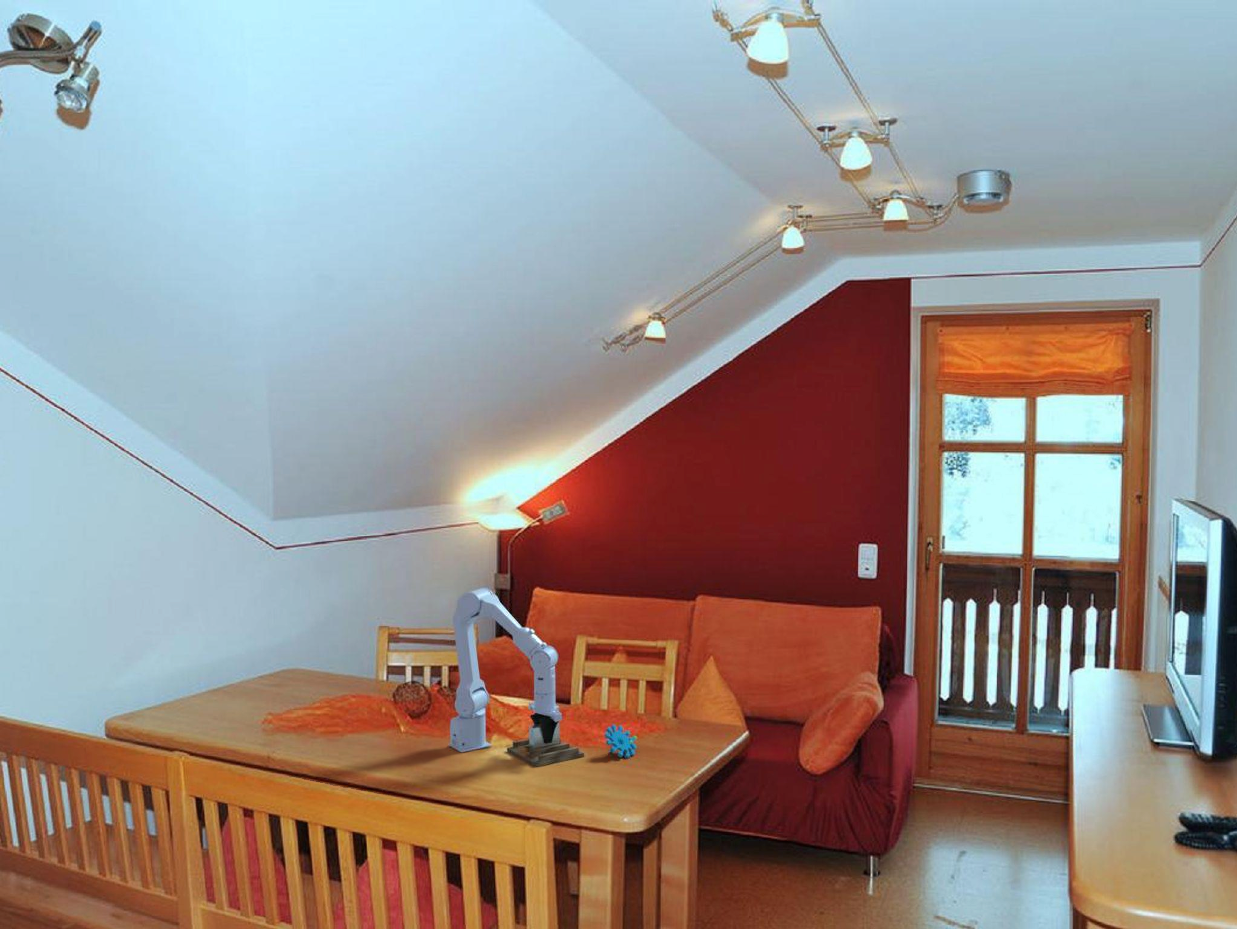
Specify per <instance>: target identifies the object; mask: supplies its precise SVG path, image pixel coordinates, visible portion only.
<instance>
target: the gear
mask: <svg viewBox="0 0 1237 929" xmlns="http://www.w3.org/2000/svg"><path fill="white" fill-rule="evenodd" d="M616 729H617V730H616ZM622 731H624V727H623V726H622V725H619V726H618V728H617V725H616V724H612V725H611V726H608V727H607V728H606V729H605V733H604V735H603V736H604V738H605V739H606V741H605V744H606V746H611V748H610V749H609V752H610V753H612V754H613V753H615V752H616V751H617V750H618V752H617V756H618V757H620V758H622V757H623V756H624V757H625V758H627V759H629V758H630V757H631V756H633V755H635V754H636V751H635V750H637V748H638V746H637V744H634V743H635V741H636V740H637V739H638V737H637V736H636V735H633V736H632V737H629V736H630V735H631V732H630V731H629V730H626V731H625V732H622ZM624 752H625V754H624Z"/></svg>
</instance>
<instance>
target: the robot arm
mask: <svg viewBox="0 0 1237 929" xmlns="http://www.w3.org/2000/svg"><path fill="white" fill-rule="evenodd" d="M456 605H457V606H456V609H455V612H454V613H453V617H452V625H453V634H454V641H455V650H456V655H457V656H456V658H457V665H458V672H459V673H458V674H459V684H458V686H457V688H456V690H455V691H456V698H455V701H454V708H455V711H456V713H457V714H458V715H457V716H456V717H455V716H454V717H452V718H451V720H450V722H449V723H450V724H449V734H450V736H449V737H450V738H449V740H450V741H449V742H450V743H449V744H448V745H449V747H451V748H453V749H455V750H457V751H458V752H460V753H464V752H469V751H475V750H480V749H485V748H490V747H492V744H491V743H489V742H487V741H486V738H487V737H486V735H487V734H486V707H487V706H489V702H490V694H489V693H488V691H487V689H486V685H485V682H484V680H482V679H481V677H480V671H479V668H480V667H479V661H478V653H477V647H476V646H477V644H476V636H475V630H474V628H475V627H474V623H475V621H476V620H477V619H478V618H479V617H487V618H489V617H490V618H492V619H493V620H495V621H496V622H497V623H498V624H499V626H501V627H502V628H503V629H505V630H506V631H507V632H508V634H510V635H511V636H512V642H513V644H514V645H515V646H516V647H517V648H518V649H519V651H521V652H522V653H523V654H524V655H525V656H526V657H527V658H528V659H529V664H530V666H531V668H532V669H533V675H534V676H533V678H534V679H533V685H534V686H533V689H534V693H533V694H534V695H533V697H534V698H533V700H534V701H532V702H529V703H528V710H529V711H533V712H534V714H531V715H530V719H531V721H532V723H533V725H538V724H541V727H542V732H543V740H544V743H545V744H547V743H552V740H553V735H554V731H555V728H556V726H557V724H558V723H559V722H562V720H563V717H562V716H563V715H562V712H560V711H559V709H560V706H558V704H557V705H556V666H555V665H556V664H557V663H558V660H559V653H558V652H557V650H556V648H555V647H553V646H551V645H547V643H546V642H543V641H542V639H540V638H539V637H538V636H537V635H536V634H535V633H536V631H535V630H534V629H533V628H531V629H530V628H529V627H522V626H521V624H520V623H519V622H518V621H517V620H516V618H514V617H513V615H512V614H511V613H510V612H509V611H508V610H507V608H506V607H505V606H504V605H503V604H502V603H501V602H500V600H499V597H498V596H497V595H496V594H494V593H493V592H492V590H491V589H489V588H487V587H484V586H483V587H480V588H478V589H475V590H472V591H468V592H464V593H463V594H462V595H461V596H460V597H459V598H457V600H456Z"/></svg>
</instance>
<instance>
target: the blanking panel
mask: <svg viewBox="0 0 1237 929" xmlns="http://www.w3.org/2000/svg"><path fill="white" fill-rule="evenodd" d="M528 727H529V728H528V734H529V735H528V739H529V751H530V750H535V749H540V748H545V747H549V746H554V745H559V739H560V723H559V722H558V724H557V726H556V728H555V731H554V735H553V740H552V743H547V744H545V743H544V740H543V732H542V727H541V724H538V725H534V724H532V725H529V726H528Z"/></svg>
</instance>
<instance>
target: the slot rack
mask: <svg viewBox="0 0 1237 929" xmlns="http://www.w3.org/2000/svg"><path fill="white" fill-rule="evenodd" d="M506 751H507V753H509V754H511V755H513V756H515V758H516V757H517V758H518V759H520V760H522V761H524V762H526V763H527V764H529V765H531V766H533V767H535V768H539V767H542V766H547V765H553V764H556V763H560V762H566V761H569V760H575V759H579V758H584V757H585V752H583V751H581V750H579V747H577V746H575V747H573V746H571V745H570V743H568V742H562V740H561V739H560V738H559V745H554V746H549V747H545V748H540V749H535V750H530V751H529V738H526V739H520V740H516V741H512V746H510V747H509V746H508V747H507V748H506Z"/></svg>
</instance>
